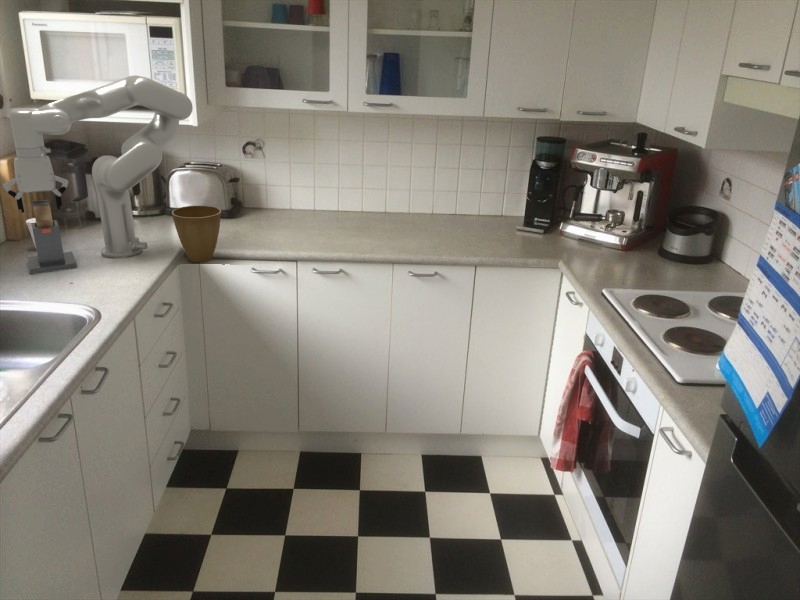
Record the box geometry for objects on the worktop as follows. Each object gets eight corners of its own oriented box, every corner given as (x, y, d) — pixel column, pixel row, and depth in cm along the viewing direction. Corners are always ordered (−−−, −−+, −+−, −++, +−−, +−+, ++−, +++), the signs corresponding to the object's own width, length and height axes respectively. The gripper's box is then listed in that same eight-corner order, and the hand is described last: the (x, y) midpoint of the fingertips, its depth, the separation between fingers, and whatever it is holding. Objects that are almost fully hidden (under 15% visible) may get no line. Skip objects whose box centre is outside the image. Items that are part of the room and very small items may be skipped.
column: (58, 256, 207) (48, 199, 200) (60, 260, 204) (49, 202, 197) (42, 258, 205) (31, 200, 198) (43, 262, 202) (32, 204, 195)
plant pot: (171, 265, 207) (165, 216, 201) (185, 251, 220) (180, 204, 214) (218, 266, 207) (214, 217, 201) (229, 252, 221) (225, 205, 214)
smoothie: (43, 251, 217) (35, 210, 211) (26, 250, 218) (18, 208, 212) (56, 246, 222) (49, 205, 217) (40, 244, 224) (32, 204, 218)
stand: (73, 255, 213) (66, 216, 208) (77, 267, 203) (70, 227, 198) (27, 261, 207) (19, 221, 202) (30, 274, 197) (21, 232, 192)
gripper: (62, 149, 199) (71, 204, 205) (-4, 152, 191) (7, 210, 197) (64, 153, 193) (73, 210, 199) (-4, 156, 185) (8, 215, 191)
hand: (40, 210), depth 198 cm, fingers open, 9 cm apart
